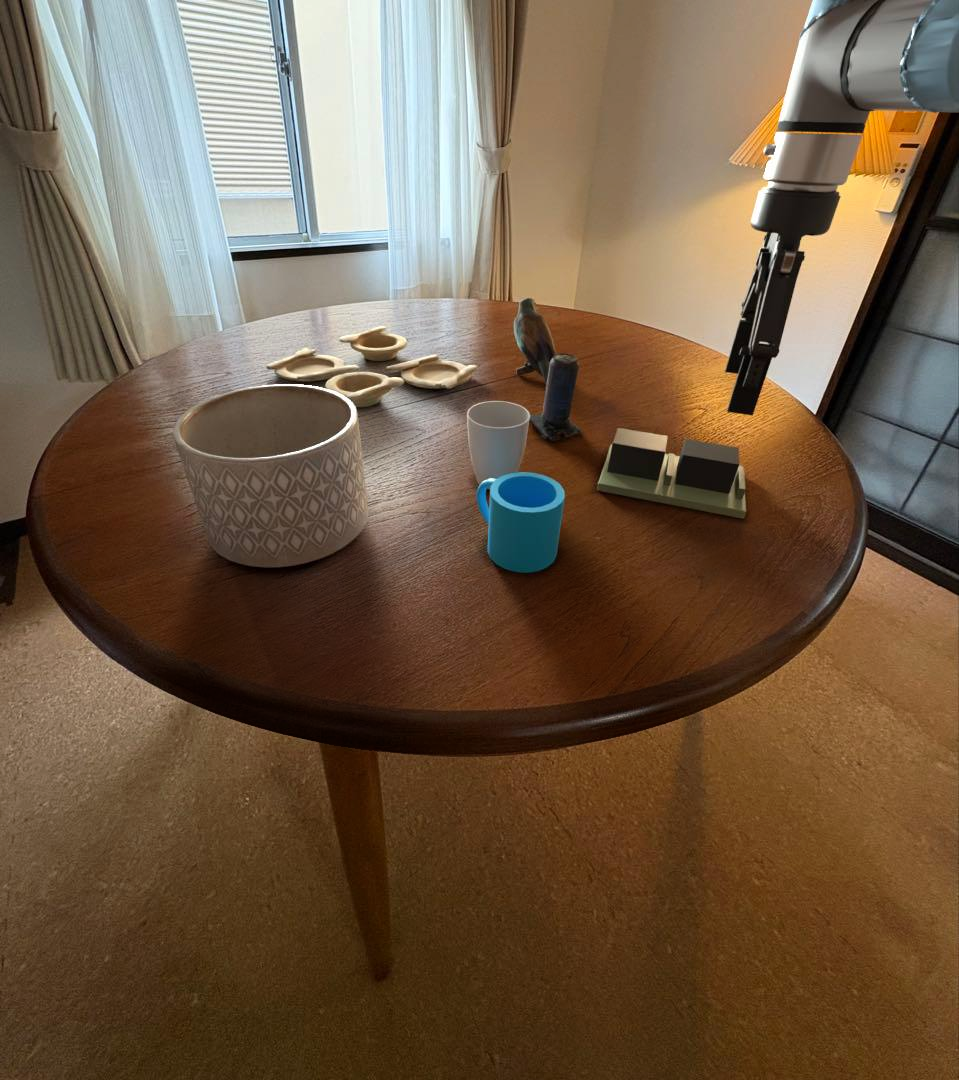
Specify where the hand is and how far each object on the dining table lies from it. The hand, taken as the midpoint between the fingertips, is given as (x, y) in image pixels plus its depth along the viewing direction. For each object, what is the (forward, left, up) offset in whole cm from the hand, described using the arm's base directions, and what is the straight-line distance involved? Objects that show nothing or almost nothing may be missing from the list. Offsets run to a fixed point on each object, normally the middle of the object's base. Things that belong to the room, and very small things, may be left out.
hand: (737, 391), depth 69 cm
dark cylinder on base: (+27, -2, -15) cm, 30 cm away
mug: (+14, +27, -15) cm, 34 cm away
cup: (+24, +17, -15) cm, 33 cm away
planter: (+36, +42, -15) cm, 57 cm away
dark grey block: (+1, 0, -13) cm, 13 cm away
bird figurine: (+41, -20, -15) cm, 48 cm away
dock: (+5, +1, -14) cm, 15 cm away
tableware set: (+65, +2, -15) cm, 66 cm away
